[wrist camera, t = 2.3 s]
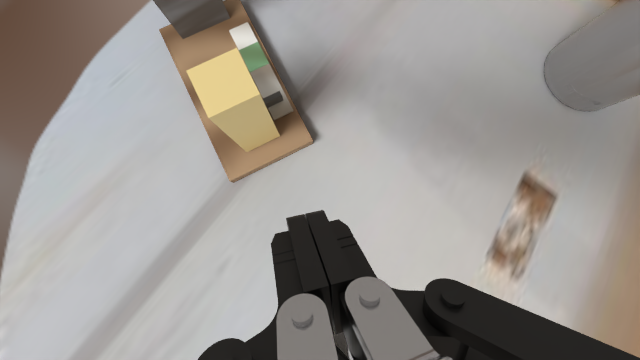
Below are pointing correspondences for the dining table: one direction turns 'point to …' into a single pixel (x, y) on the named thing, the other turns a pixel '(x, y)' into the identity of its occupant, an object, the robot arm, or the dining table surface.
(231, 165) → the base
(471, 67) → the dining table surface
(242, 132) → the block
